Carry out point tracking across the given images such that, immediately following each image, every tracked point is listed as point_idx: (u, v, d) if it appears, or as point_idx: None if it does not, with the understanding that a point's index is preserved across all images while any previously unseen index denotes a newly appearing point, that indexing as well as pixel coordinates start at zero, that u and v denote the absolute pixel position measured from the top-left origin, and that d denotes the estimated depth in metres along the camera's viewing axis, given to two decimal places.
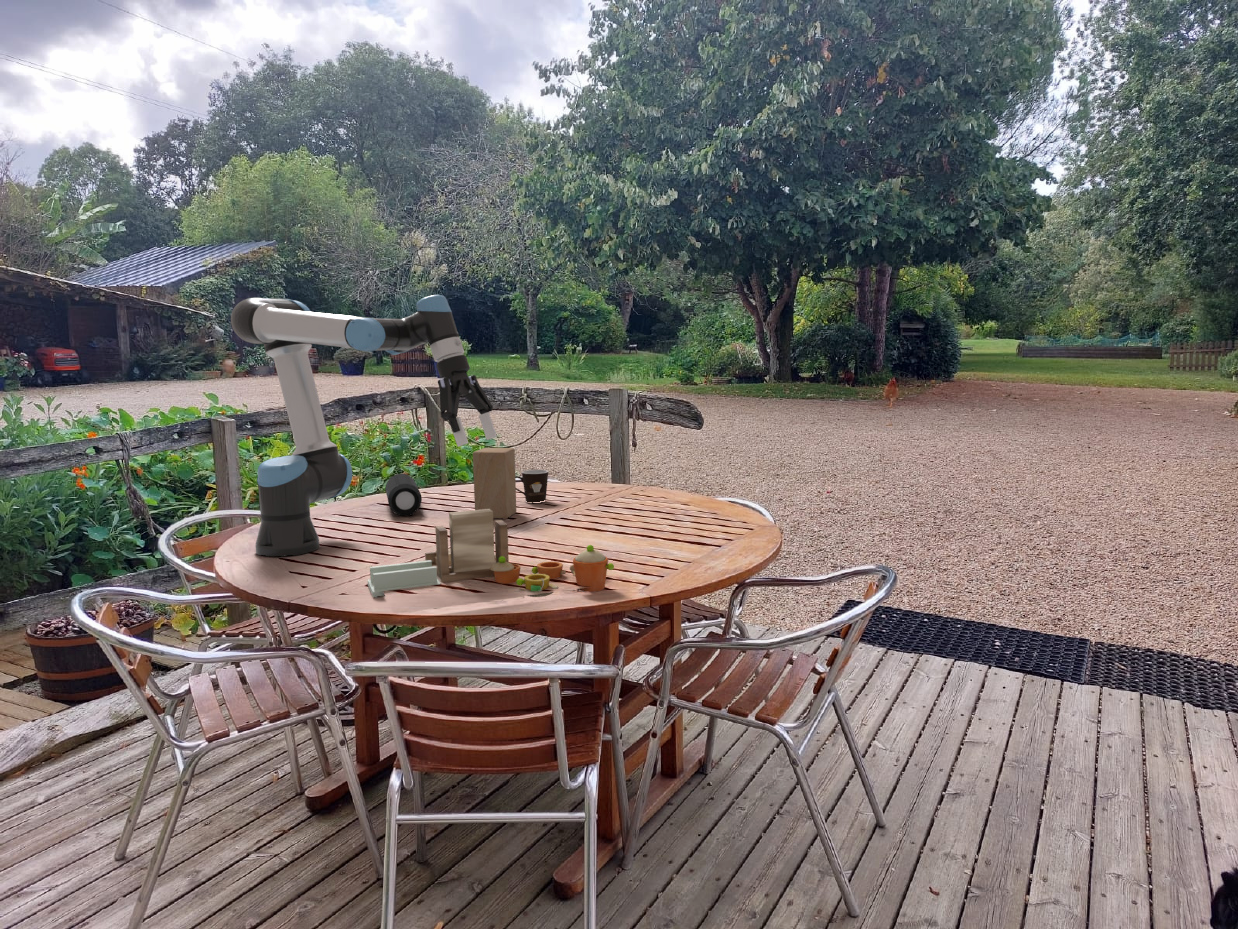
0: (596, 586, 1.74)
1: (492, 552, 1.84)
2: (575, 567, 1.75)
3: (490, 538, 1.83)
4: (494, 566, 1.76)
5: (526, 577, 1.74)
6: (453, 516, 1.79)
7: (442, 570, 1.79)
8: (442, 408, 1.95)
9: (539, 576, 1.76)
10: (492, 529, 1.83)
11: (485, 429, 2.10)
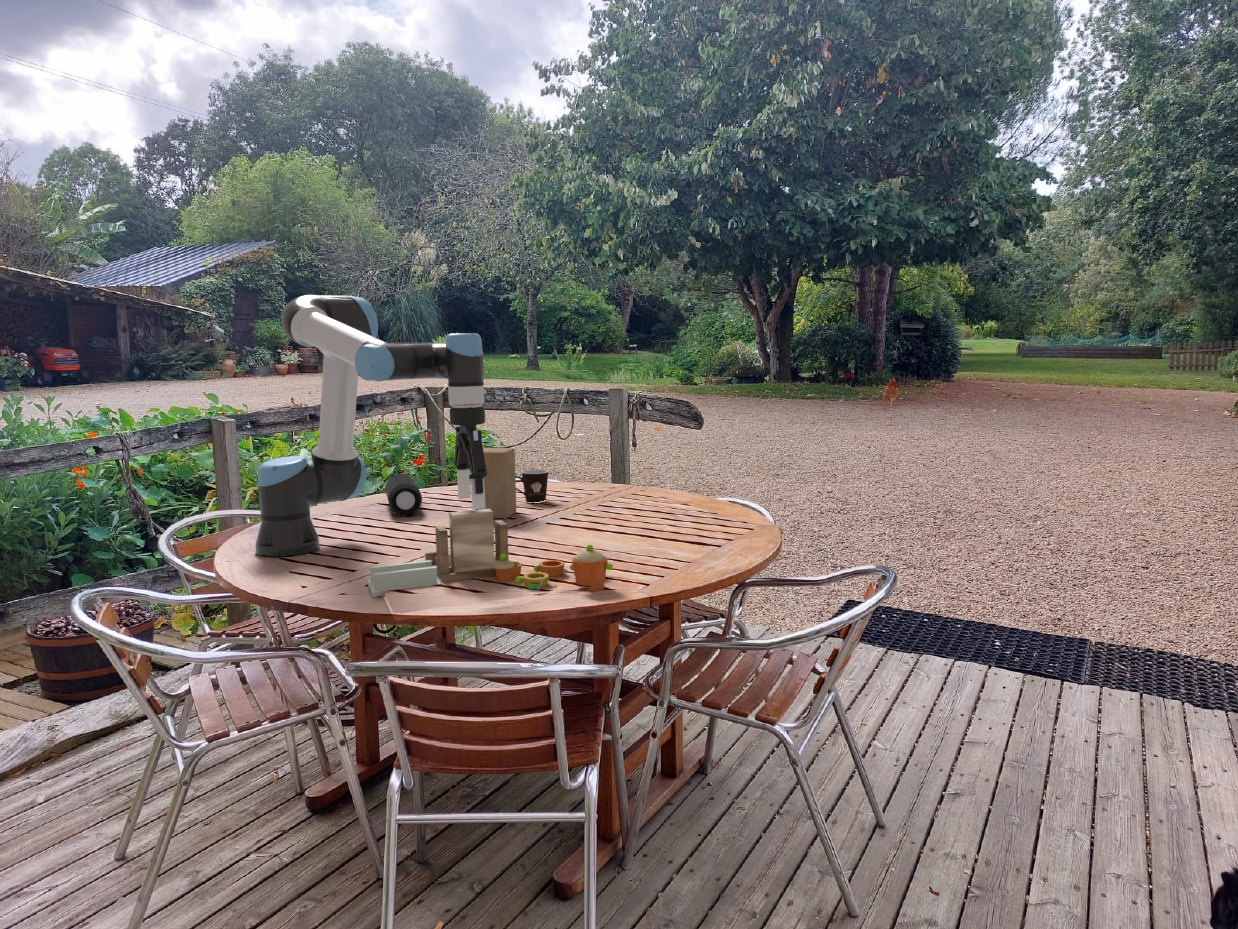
0: (594, 585, 1.75)
1: (492, 552, 1.84)
2: (574, 566, 1.76)
3: (490, 538, 1.83)
4: (495, 564, 1.78)
5: (525, 575, 1.75)
6: (453, 516, 1.79)
7: (442, 570, 1.79)
8: (477, 466, 1.72)
9: (539, 574, 1.77)
10: (492, 529, 1.83)
11: (461, 487, 1.87)
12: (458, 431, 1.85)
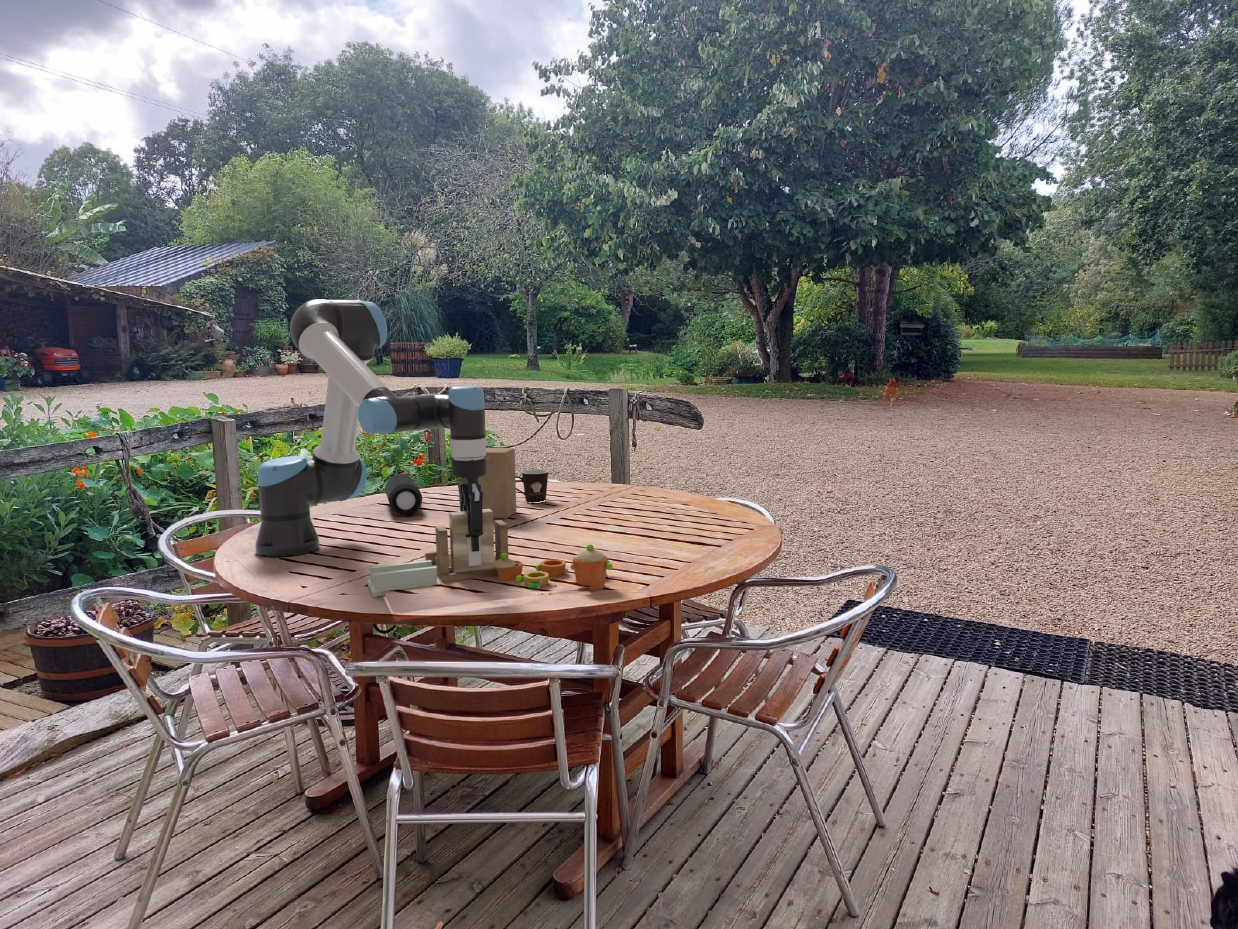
0: (594, 585, 1.75)
1: (492, 552, 1.84)
2: (574, 566, 1.76)
3: (490, 538, 1.83)
4: (496, 562, 1.79)
5: (525, 574, 1.76)
6: (453, 516, 1.79)
7: (442, 570, 1.79)
8: (474, 527, 1.78)
9: (539, 574, 1.77)
10: (492, 529, 1.83)
11: None
12: None
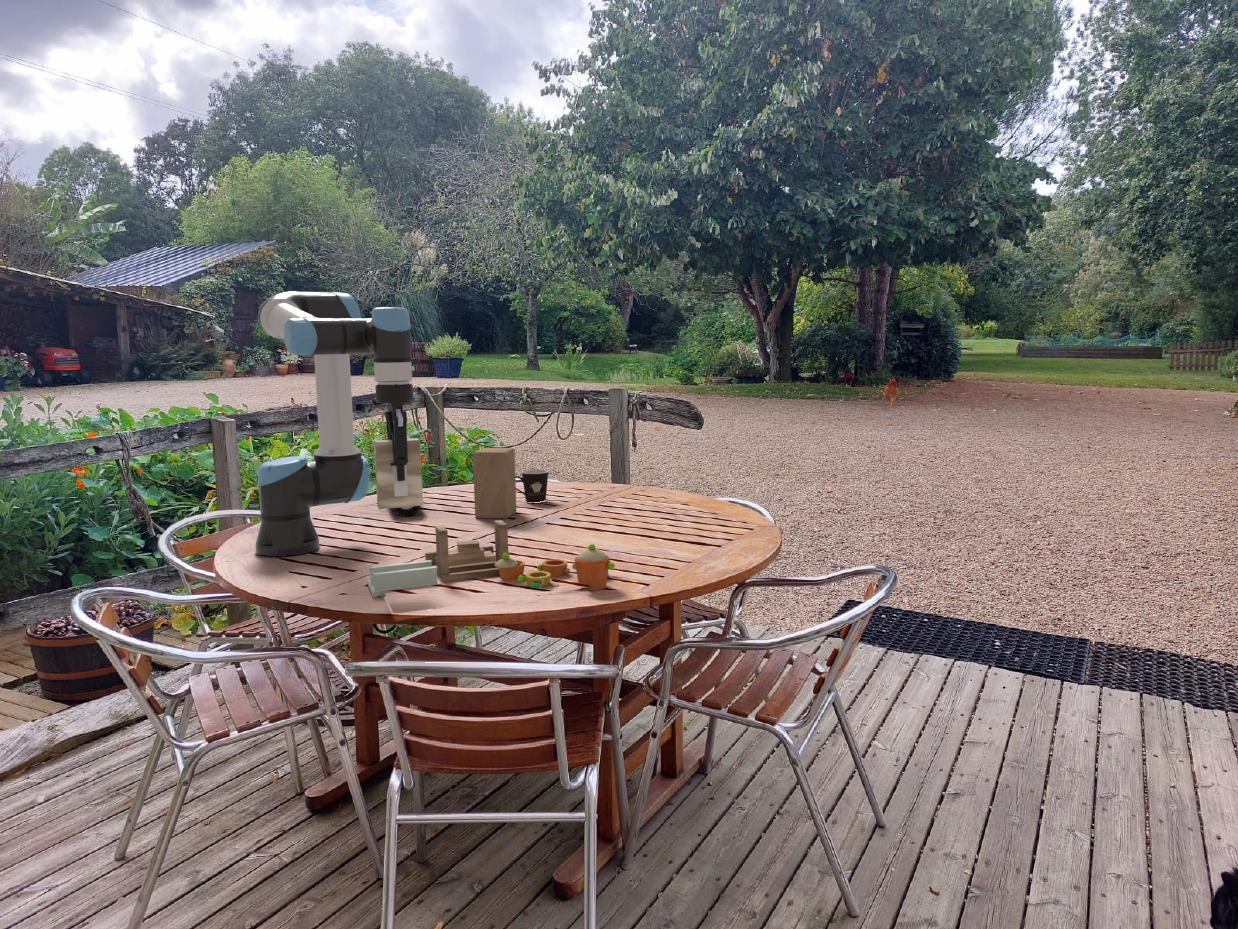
0: (596, 585, 1.75)
1: (420, 483, 1.76)
2: (576, 565, 1.76)
3: (417, 468, 1.76)
4: (498, 562, 1.79)
5: (527, 574, 1.76)
6: (377, 443, 1.72)
7: (442, 570, 1.79)
8: (398, 454, 1.70)
9: (541, 573, 1.78)
10: (419, 459, 1.75)
11: None
12: None
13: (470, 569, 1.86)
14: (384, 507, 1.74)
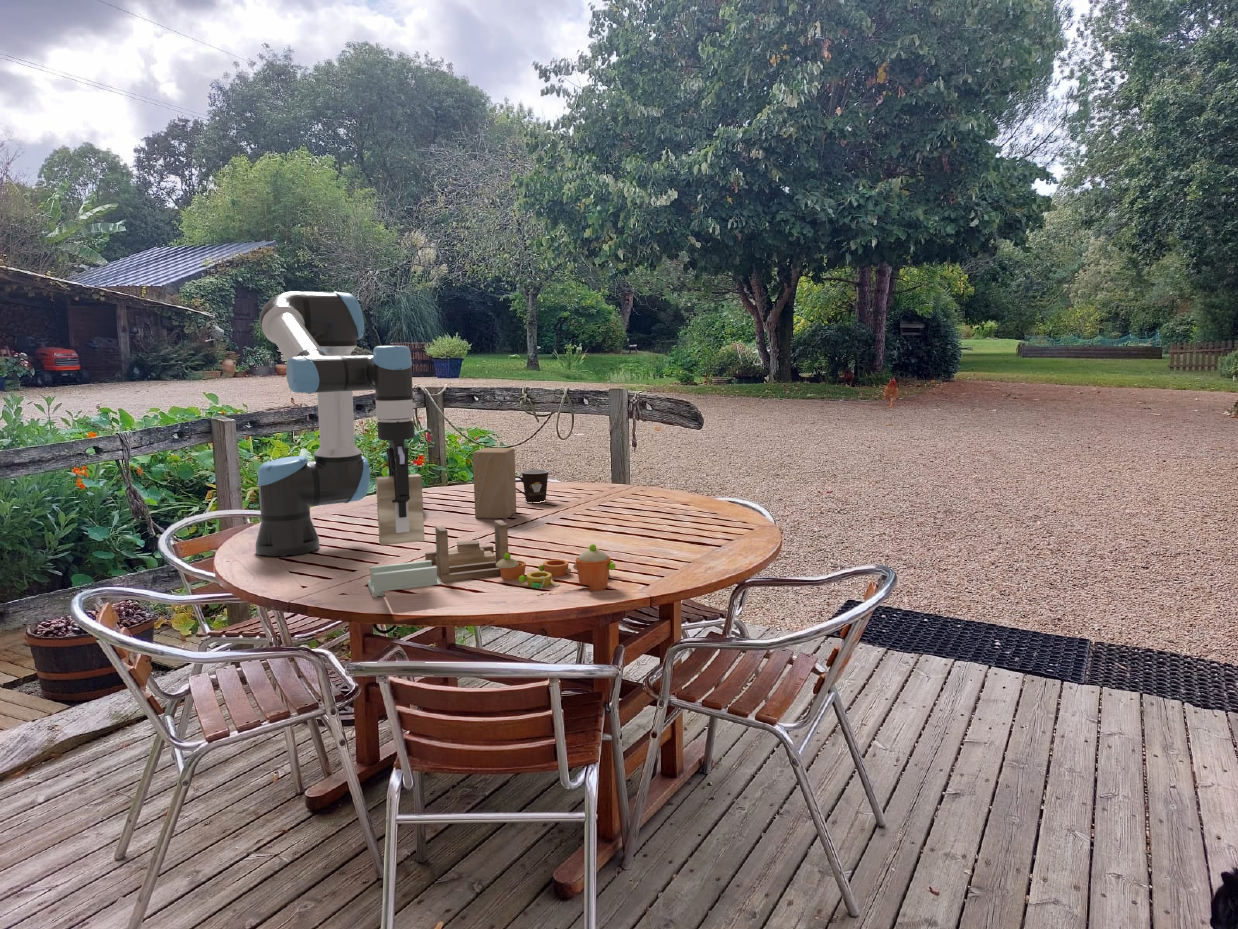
0: (597, 585, 1.75)
1: (421, 519, 1.77)
2: (577, 566, 1.76)
3: (419, 504, 1.77)
4: (499, 562, 1.79)
5: (528, 574, 1.76)
6: (379, 480, 1.73)
7: (442, 570, 1.79)
8: (400, 491, 1.71)
9: (542, 574, 1.78)
10: (420, 495, 1.76)
11: None
12: None
13: (470, 569, 1.86)
14: (386, 543, 1.75)
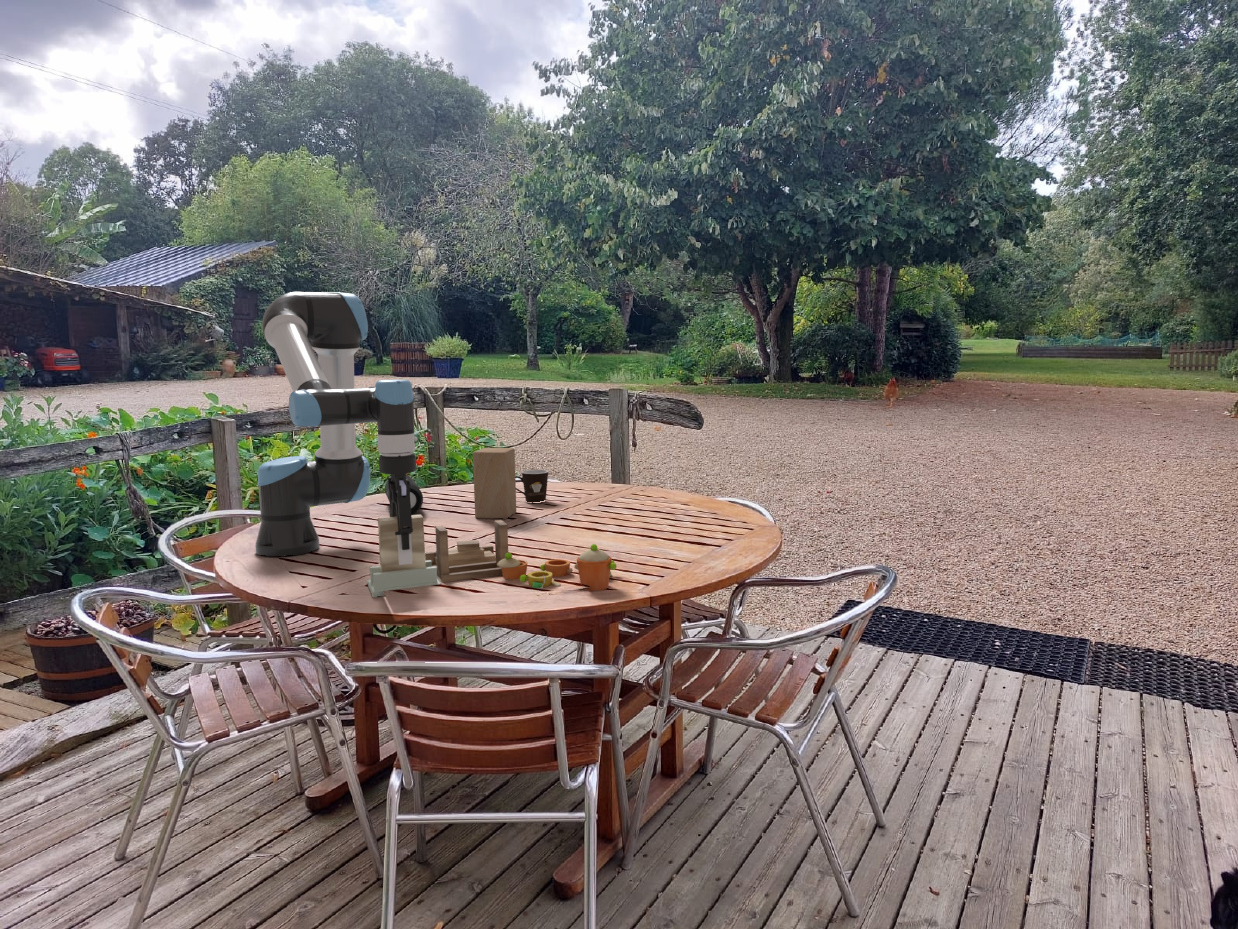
0: (598, 585, 1.75)
1: (423, 559, 1.79)
2: (578, 566, 1.76)
3: (420, 544, 1.78)
4: (500, 562, 1.79)
5: (529, 574, 1.76)
6: (381, 522, 1.74)
7: (442, 570, 1.79)
8: (403, 523, 1.70)
9: (543, 573, 1.78)
10: (422, 536, 1.78)
11: None
12: (390, 481, 1.81)
13: (470, 569, 1.86)
14: None
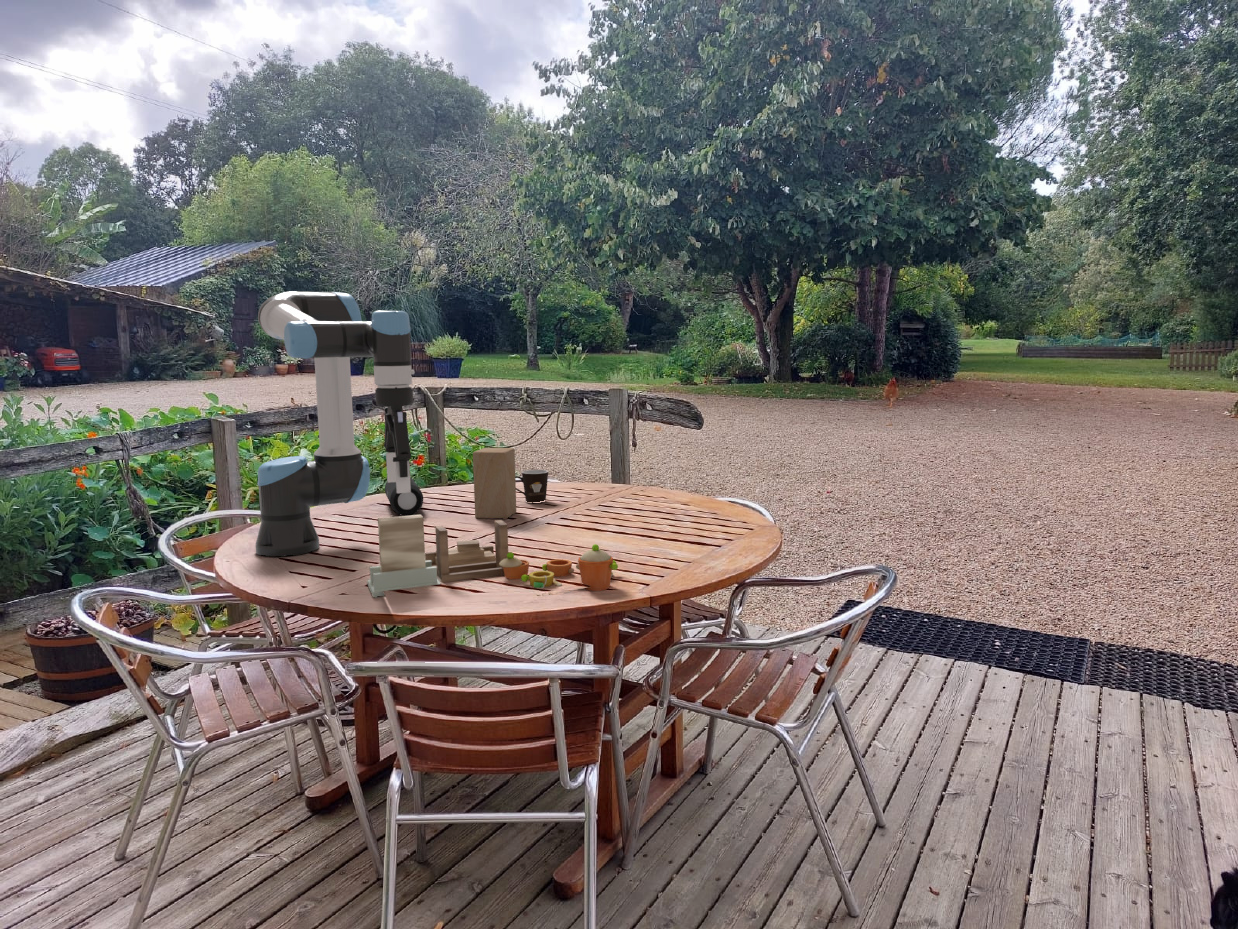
0: (599, 585, 1.75)
1: (423, 559, 1.79)
2: (579, 566, 1.76)
3: (420, 544, 1.78)
4: (502, 561, 1.80)
5: (531, 574, 1.76)
6: (381, 522, 1.74)
7: (442, 570, 1.79)
8: (400, 448, 1.66)
9: (545, 573, 1.78)
10: (422, 536, 1.78)
11: (390, 470, 1.81)
12: (387, 412, 1.79)
13: (470, 569, 1.86)
14: None
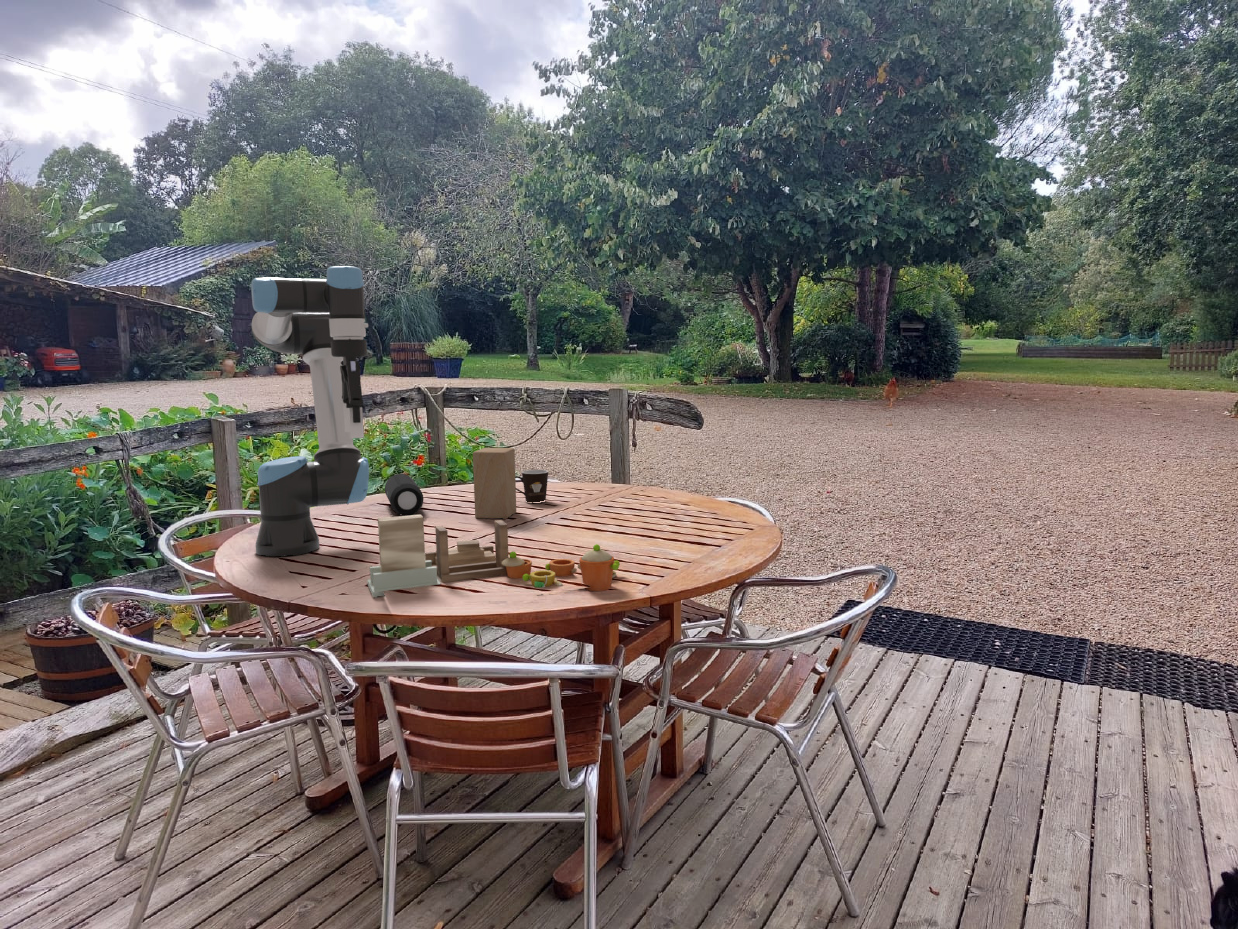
0: (600, 585, 1.75)
1: (423, 559, 1.79)
2: (580, 566, 1.76)
3: (420, 544, 1.78)
4: (504, 561, 1.80)
5: (532, 573, 1.77)
6: (381, 522, 1.74)
7: (442, 570, 1.79)
8: (353, 394, 1.76)
9: (546, 573, 1.78)
10: (422, 536, 1.78)
11: (347, 420, 1.92)
12: (343, 365, 1.89)
13: (470, 569, 1.86)
14: None
